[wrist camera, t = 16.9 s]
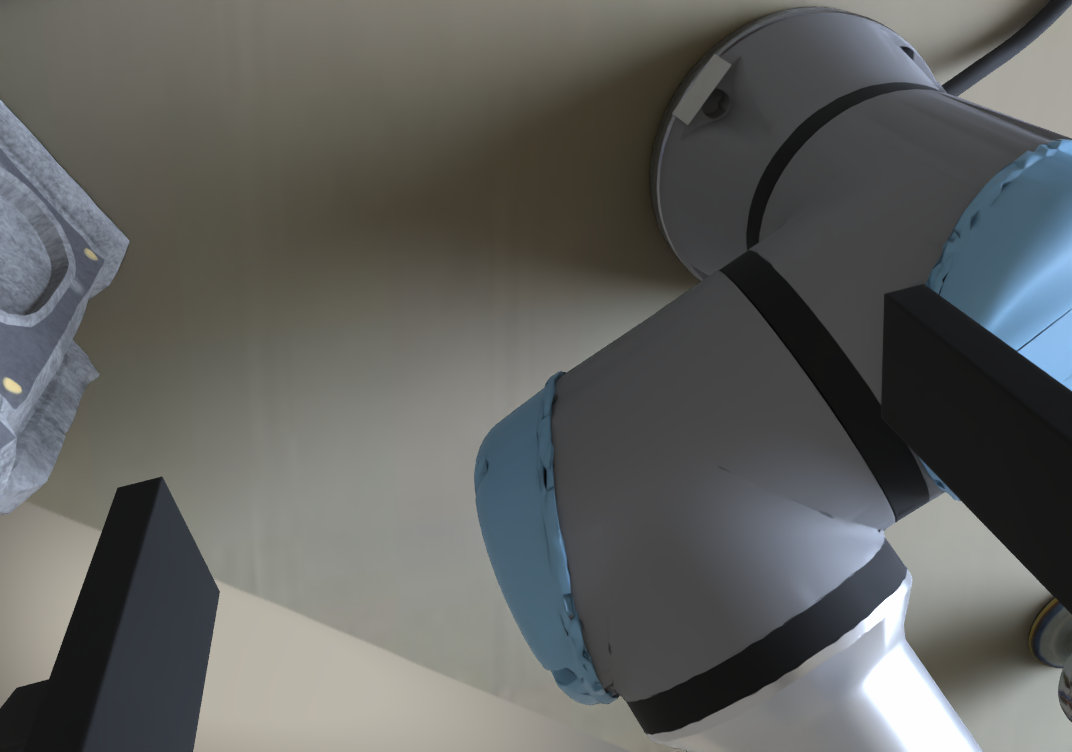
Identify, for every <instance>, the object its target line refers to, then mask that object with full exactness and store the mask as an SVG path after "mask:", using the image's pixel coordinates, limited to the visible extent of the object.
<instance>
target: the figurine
mask: <svg viewBox="0 0 1072 752" xmlns="http://www.w3.org/2000/svg"><path fill="white" fill-rule="evenodd" d="M129 242H130V241H129V240H128V239H127V238H126V236H125V235H124V234H123V233H122V232H121V231H120V230H119V229H118V228H117V227H116V226H115V224H114V223H113V222H112V221H111V220H110V219H109V218H108V217H107V216H106V215H105V214H104V213H103V212H102V211H101V210H100V209H99V208H98V207H97V206H96V205H95V203H94V202H93V201H92V199H91V198H90V197H89V196H88V194H87V193H86V192H85V191H84V190H83V189H82V188H81V187H80V186H79V185H78V184H77V183H76V182H75V181H74V180H73V179H72V178H71V177H70V176H69V175H68V174H67V173H66V172H65V170H64V169H63V168H62V167H61V166H60V165H59V164H58V163H57V162H56V161H55V159H54V158H53V157H52V156H51V155H50V154H49V152H48V151H47V150H46V149H45V148H44V147H43V146H42V144H41V143H40V142H39V141H38V140H37V139H36V138H35V136H34V135H33V134H32V133H31V132H30V131H29V130H28V129H27V128H26V127H25V126H24V124H23V123H22V122H21V121H20V120H19V119H18V118H17V117H16V116H15V115H14V114H13V113H12V112H11V111H10V110H9V109H8V108H7V107H6V106H5V104H4V103H3V102H2V101H1V100H0V515H4V514H8V513H10V512H12V511H13V510H14V509H15V508H16V507H18V506H19V505H20V504H21V503H23V502H24V501H25V500H26V499H27V498H29V497H30V496H31V495H32V494H34V493H35V492H36V491H37V490H38V489H39V488H40V487H41V486H43V485H44V484H45V483H46V482H47V480H48V478H49V475H50V473H51V471H52V469H53V467H54V464H55V462H56V460H57V458H58V455H59V453H60V450H61V448H62V445H63V443H64V440H65V438H66V437H65V436H64V435H63V434H65V433H67V431H68V430H69V428H70V426H71V424H72V422H73V420H74V418H75V415H76V412H77V409H78V406H79V403H80V400H81V397H82V395H83V393H84V391H85V388H86V386H87V384H89V383H90V382H91V381H93V380H94V379H96V378H97V377H99V376H100V374H99V373H98V371H97V370H96V369H95V368H94V366H93V365H92V363H91V361H90V359H89V358H88V356H87V354H86V353H85V352H84V351H83V350H82V349H81V348H80V347H79V346H78V345H77V344H76V343H75V342H74V341H73V338H74V336H75V334H76V332H77V330H78V328H79V325H80V323H81V321H82V318H83V316H84V313H85V310H86V306H87V301H88V300H89V299H91V298H92V297H94V296H95V295H97V294H98V293H99V292H101V291H102V290H104V289H105V288H106V287H108V286H109V285H110V283H111V282H112V280H113V278H114V277H115V275H116V274H117V272H118V269H119V267H120V264H121V262H122V260H123V257H124V255H125V252H126V249H127V247H128V244H129Z"/></svg>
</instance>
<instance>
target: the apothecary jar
mask: <svg viewBox="0 0 1072 752" xmlns="http://www.w3.org/2000/svg"><path fill="white" fill-rule="evenodd" d="M1029 647H1030V651H1031V653H1032V655H1033V657H1034V658H1035V659H1036V660H1037V661H1039V662H1040V663H1042V664H1044V665H1046V666H1049V667H1054V668H1063V670H1062V673H1061V676H1060V681H1059V687H1058V697H1059V702H1060V705H1061V707H1062V710H1063V711H1064V713H1065V715H1066V716H1067V718H1068V719H1069V720H1070V721H1071V722H1072V615H1071V614H1070V613H1069V612H1068V611H1067V610H1066V608H1065V607H1064V606H1063V605H1062V604H1061V603H1060V602H1059V601H1058V600H1057V599H1056V598H1054V599H1053V600H1052V601H1051V602H1050V603H1049V604H1048V605H1047V606H1046V607H1045V608H1044V609H1043V610H1042V612H1041V613H1040V614H1039V615H1038V617H1037V618H1036V620H1035V622H1034V624H1033V626H1032V629H1031V632H1030V635H1029Z"/></svg>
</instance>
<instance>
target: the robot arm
mask: <svg viewBox="0 0 1072 752" xmlns="http://www.w3.org/2000/svg"><path fill="white" fill-rule="evenodd" d="M1071 4H1072V0H1050V1H1049V2H1048V3H1047V5H1046V6H1045V7H1044V8H1043V9H1042V10H1040V11H1039V12H1038V13H1037V14H1036V15H1035V16H1034V17H1033V18H1032V19H1031V20H1030V21H1029V22H1028V23H1027V24H1026V25H1025V26H1024V27H1022V28H1021V29H1020V30H1019V31H1018V32H1016V33H1015V34H1014V35H1013V36H1011V37H1010V38H1009V39H1008V40H1006V41H1005V42H1004V43H1002V44H1001V45H999V46H998V47H997V48H995V49H994V50H992V51H991V52H989V53H988V54H986V55H985V56H984V57H982V58H981V59H979V60H978V61H976V62H975V63H973V64H972V65H971V66H969V67H968V68H966V69H965V70H963V71H962V72H961V73H959V74H958V75H956V76H955V77H953V78H952V79H951V80H949V81H948V82H946V83H945V84H943V85H942V86H941V84H940V83H939V82H937V81H936V80H935V78H934V76H933V74H932V72H931V70H930V69H929V67H928V66H927V64H926V63H925V61H924V60H923V59H922V57H921V56H920V55H919V54H918V52H917V51H916V50H915V49H914V48H913V47H912V46H911V45H910V44H909V43H908V42H907V41H906V40H904V39H903V38H902V37H900V36H899V35H898V34H896V33H895V32H894V31H893V30H891V29H889V28H888V27H886V26H884V25H883V24H881V23H879V22H877V21H875V20H872V19H870V18H867V17H864V16H861V15H857V14H854V13H851V12H847V11H844V10H840V9H834V8H828V7H801V8H794V9H789V10H784V11H780V12H776V13H773V14H770V15H767V16H765V17H762V18H759V19H757V20H755V21H753V22H751V23H749V24H747V25H745V26H743V27H741V28H740V29H738V30H736V31H735V32H733V33H732V34H730V35H728V36H727V37H726V38H724V39H723V40H722V41H721V42H719V43H718V44H717V45H715V46H714V47H713V48H712V49H711V50H710V51H709V52H708V53H707V54H705V55H704V56H703V57H702V59H701V60H700V61H699V62H698V63H697V64H696V65H695V66H694V67H693V68H692V70H691V71H690V72H689V73H688V75H687V76H686V77H685V79H684V80H683V81H682V83H681V84H680V86H679V87H678V89H677V91H676V92H675V94H674V95H673V97H672V99H671V101H670V103H669V105H668V107H667V109H666V111H665V113H664V116H663V118H662V120H661V123H660V126H659V129H658V132H657V135H656V139H655V143H654V147H653V152H652V159H651V169H650V188H651V198H652V204H653V209H654V213H655V216H656V220H657V222H658V225H659V228H660V230H661V232H662V234H663V236H664V238H665V240H666V242H667V244H668V245H669V246H670V248H671V249H672V251H673V252H674V254H675V255H676V256H677V257H678V258H679V259H680V261H681V262H682V263H683V264H684V265H685V266H686V268H687V269H688V270H689V271H690V272H691V273H692V274H693V275H694V276H695V277H696V278H698V279H699V280H700V281H701V282H699V283H698V284H697V285H695V286H694V287H692V288H691V289H689V290H688V291H687V292H685V293H684V294H682V295H681V296H679V297H678V298H677V299H675V300H674V301H672V302H671V303H669V304H668V305H666V306H665V307H664V308H662V309H661V310H659V311H658V312H656V313H655V314H654V315H652V316H651V317H649V318H648V319H646V320H645V321H643V322H642V323H640V324H639V325H637V326H636V327H634V328H633V329H631V330H630V331H628V332H627V333H625V334H624V335H622V336H621V337H619V338H618V339H616V340H615V341H613V342H612V343H610V344H609V345H607V346H606V347H604V348H603V349H601V350H600V351H598V352H597V353H595V354H594V355H592V356H591V357H589V358H588V359H586V360H585V361H583V362H582V363H581V364H579V365H578V366H576V367H575V368H573V369H572V370H570V371H569V372H567V373H566V372H562V371H559V372H558V373H556V374H555V375H553V376H552V377H550V378H549V380H548V381H547V383H546V385H545V388H543V389H542V390H541V391H539V392H538V393H537V394H535V395H534V396H533V397H531V398H530V399H529V400H528V401H526V402H525V403H524V404H522V405H521V406H520V407H518V408H517V409H516V410H514V411H513V412H512V413H510V414H509V415H508V416H507V417H505V418H504V419H503V420H501V421H500V422H499V423H497V424H496V425H495V426H494V427H493V428H492V429H491V430H490V432H489V433H488V434H487V435H486V437H485V438H484V440H483V442H482V444H481V446H480V449H479V452H478V455H477V458H476V465H475V473H474V482H475V492H476V507H477V513H478V518H479V522H480V527H481V531H482V535H483V539H484V542H485V546H486V549H487V552H488V555H489V558H490V561H491V564H492V567H493V570H494V572H495V575H496V578H497V580H498V583H499V585H500V587H501V590H502V592H503V595H504V597H505V599H506V602H507V604H508V606H509V608H510V610H511V612H512V614H513V617H514V619H515V620H516V622H517V624H518V626H519V628H520V630H521V632H522V634H523V636H524V638H525V640H526V641H527V643H528V645H529V646H530V648H531V650H532V652H533V653H534V655H535V656H536V658H537V659H538V661H539V662H540V663H541V664H542V666H543V667H544V668H545V669H547V670H551V672H552V674H553V676H554V678H555V680H556V683H557V685H558V686H559V687H560V689H561V690H562V691H563V692H564V693H565V694H567V695H568V696H569V697H570V698H572V699H573V700H575V701H577V702H579V703H582V704H586V705H595V704H598V703H603V704H610V703H611V702H613V701H614V700H616V699H617V698H618V697H619V696H620V695H621V696H622V697H623V699H624V700H625V701H626V702H627V704H628V705H629V707H630V709H631V710H632V712H633V714H634V715H635V717H636V719H637V720H638V722H639V724H640V725H641V727H642V729H643V731H644V732H645V733H646V735H647V736H648V738H649V739H650V740H651V741H653V742H656V743H659V744H663V745H667V746H670V747H674V748H678V749H681V750H685V751H689V752H983V751H982V749H981V748H980V746H979V745H978V744H977V742H976V741H975V739H974V738H973V736H972V735H971V733H970V732H969V731H968V729H967V728H966V726H965V725H964V723H963V722H962V720H961V719H960V718H959V716H958V715H957V713H956V712H955V710H954V709H953V707H952V706H951V705H950V703H949V702H948V700H947V699H946V697H945V696H944V694H943V693H942V692H941V690H940V689H939V687H938V686H937V684H936V683H935V681H934V680H933V678H932V677H931V676H930V674H929V673H928V671H927V670H926V668H925V667H924V665H923V664H922V663H921V661H920V660H919V658H918V657H917V655H916V654H915V652H914V651H913V650H912V648H911V647H910V645H909V644H908V642H907V641H906V639H905V631H904V621H905V616H906V611H907V606H908V601H909V596H910V590H911V585H912V579H913V578H912V576H911V574H910V572H909V571H908V569H907V568H906V566H905V565H904V564H903V562H902V561H901V560H900V558H899V557H898V555H897V554H896V552H895V551H894V550H893V548H892V547H891V545H890V544H889V543H888V541H887V540H886V538H885V536H884V533H883V532H884V530H885V529H886V528H888V527H889V526H891V525H892V524H893V523H895V522H897V521H898V520H900V519H901V518H903V517H905V516H906V515H908V514H910V513H911V512H913V511H915V510H916V509H918V508H919V507H921V506H923V505H924V504H926V503H928V502H929V501H931V500H933V499H934V498H936V497H938V496H939V495H941V494H943V493H944V492H947V493H948V494H949V495H950V496H951V497H952V498H953V499H954V500H959V501H962V502H963V503H964V504H965V505H966V506H967V507H968V508H969V509H970V510H971V511H972V512H973V513H974V515H975V516H976V517H977V518H978V519H979V520H980V521H981V522H982V523H983V524H984V525H985V526H986V527H987V528H988V529H989V530H990V531H991V532H992V533H993V534H994V535H995V536H996V537H997V538H998V539H999V540H1000V541H1001V542H1002V543H1003V544H1004V545H1005V547H1006V548H1007V549H1008V550H1009V551H1010V552H1011V553H1012V554H1013V555H1014V556H1015V557H1016V558H1017V559H1018V560H1019V561H1020V562H1021V563H1022V564H1023V565H1024V566H1025V567H1026V568H1027V569H1028V570H1029V571H1030V572H1031V573H1032V574H1033V575H1034V576H1035V577H1036V579H1037V580H1038V581H1039V582H1040V583H1041V584H1042V585H1043V586H1044V587H1045V588H1046V589H1047V590H1048V591H1049V592H1050V593H1051V594H1052V595H1053V596H1054V597H1055V598H1056V599H1057V600H1058V601H1059V602H1060V603H1061V604H1062V605H1063V606H1064V607H1065V608H1066V610H1067V611H1068V612H1069V613H1070V614H1071V615H1072V139H1071V138H1068V137H1066V136H1063V135H1060V134H1057V133H1055V132H1052V131H1049V130H1046V129H1044V128H1041V127H1038V126H1035V125H1033V124H1030V123H1027V122H1024V121H1022V120H1019V119H1016V118H1013V117H1011V116H1008V115H1005V114H1002V113H1000V112H997V111H994V110H991V109H989V108H986V107H983V106H980V105H978V104H975V103H972V102H969V101H967V100H964V99H961V98H959V97H957V96H958V95H960V94H961V93H963V92H964V91H966V90H967V89H968V88H970V87H971V86H973V85H974V84H975V83H977V82H978V81H980V80H981V79H982V78H984V77H985V76H987V75H988V74H990V73H991V72H993V71H994V70H995V69H997V68H998V67H1000V66H1001V65H1003V64H1004V63H1005V62H1007V61H1008V60H1010V59H1011V58H1012V57H1014V56H1015V55H1016V54H1018V53H1019V52H1020V51H1022V50H1023V49H1024V48H1025V47H1027V46H1028V45H1029V44H1030V43H1031V42H1033V41H1034V40H1035V39H1036V38H1037V37H1039V36H1040V35H1041V34H1042V33H1043V32H1044V31H1045V30H1046V29H1047V28H1048V27H1050V26H1051V25H1052V24H1053V23H1054V22H1055V21H1056V20H1057V19H1058V18H1059V17H1060V16H1061V15H1062V14H1063V13H1064V12H1065V11H1066V10H1067V9H1068V7H1069V6H1070V5H1071ZM219 593H220V591H219V589H218V587H217V585H216V583H215V581H214V579H213V577H212V575H211V573H210V571H209V569H208V567H207V565H206V563H205V561H204V559H203V557H202V555H201V553H200V551H199V549H198V547H197V545H196V543H195V541H194V539H193V537H192V535H191V533H190V531H189V529H188V527H187V525H186V523H185V521H184V519H183V517H182V515H181V513H180V511H179V509H178V507H177V505H176V503H175V501H174V499H173V497H172V495H171V493H170V491H169V489H168V487H167V485H166V483H165V481H164V479H163V477H159V478H155V479H151V480H147V481H143V482H139V483H135V484H131V485H127V486H123V487H119V488H117V491H116V494H115V497H114V499H113V502H112V505H111V508H110V510H109V513H108V516H107V519H106V522H105V524H104V527H103V530H102V533H101V536H100V539H99V541H98V544H97V547H96V550H95V552H94V555H93V558H92V561H91V564H90V566H89V569H88V572H87V575H86V578H85V581H84V583H83V586H82V589H81V591H80V595H79V597H78V600H77V603H76V605H75V608H74V611H73V614H72V617H71V619H70V622H69V625H68V628H67V631H66V633H65V636H64V639H63V642H62V645H61V647H60V650H59V653H58V656H57V659H56V662H55V664H54V667H53V670H52V673H51V676H50V678H49V680H45V681H41V682H37V683H34V684H30V685H26V686H22V687H18V688H16V689H15V691H14V692H13V693H12V694H11V696H10V697H9V698H8V699H7V701H6V702H5V703H4V704H3V706H2V707H1V708H0V752H193V749H194V743H195V737H196V731H197V725H198V719H199V713H200V707H201V701H202V695H203V689H204V683H205V677H206V671H207V665H208V659H209V653H210V646H211V641H212V635H213V629H214V623H215V617H216V611H217V605H218V599H219Z"/></svg>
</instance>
